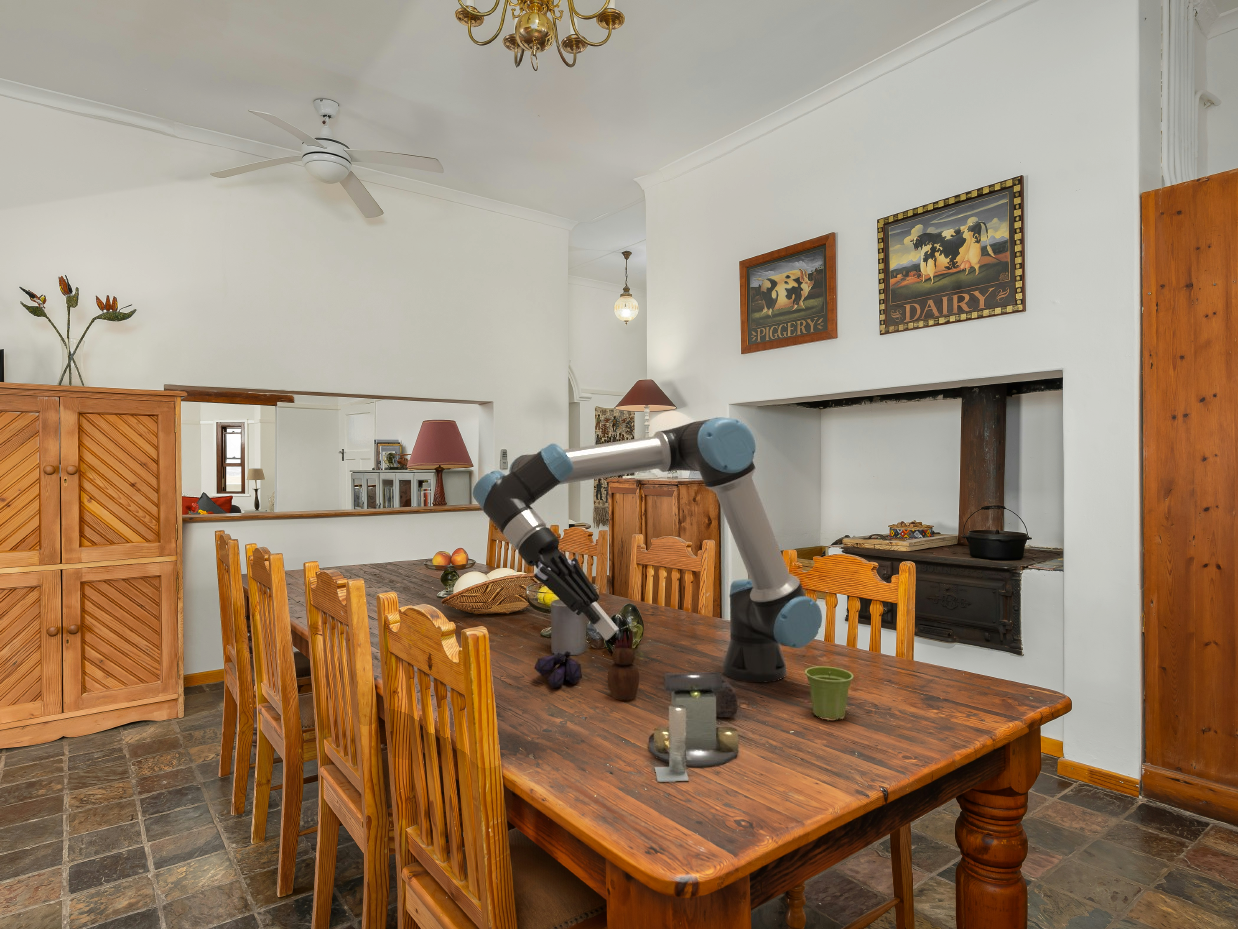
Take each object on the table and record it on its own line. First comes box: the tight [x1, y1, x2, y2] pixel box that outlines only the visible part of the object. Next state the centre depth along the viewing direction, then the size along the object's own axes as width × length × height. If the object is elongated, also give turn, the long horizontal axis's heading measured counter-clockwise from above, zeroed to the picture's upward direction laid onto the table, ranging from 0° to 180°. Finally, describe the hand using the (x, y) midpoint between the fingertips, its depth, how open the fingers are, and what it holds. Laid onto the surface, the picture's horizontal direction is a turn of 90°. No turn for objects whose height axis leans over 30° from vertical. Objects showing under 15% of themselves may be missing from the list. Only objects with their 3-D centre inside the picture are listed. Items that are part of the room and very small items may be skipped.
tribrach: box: [648, 671, 739, 768], centre depth 122 cm, size 16×16×13 cm
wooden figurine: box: [607, 629, 640, 701], centre depth 148 cm, size 7×6×15 cm
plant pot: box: [804, 666, 854, 720], centre depth 137 cm, size 9×9×9 cm
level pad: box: [654, 766, 690, 783], centre depth 111 cm, size 5×5×1 cm
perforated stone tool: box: [713, 677, 739, 719], centre depth 141 cm, size 15×5×7 cm, turn 7°
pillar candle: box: [550, 598, 588, 656], centre depth 187 cm, size 10×10×15 cm
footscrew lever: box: [653, 704, 687, 772], centre depth 115 cm, size 10×4×10 cm, turn 14°
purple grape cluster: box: [533, 651, 583, 689], centre depth 162 cm, size 7×12×20 cm
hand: (612, 634), depth 122 cm, fingers closed
